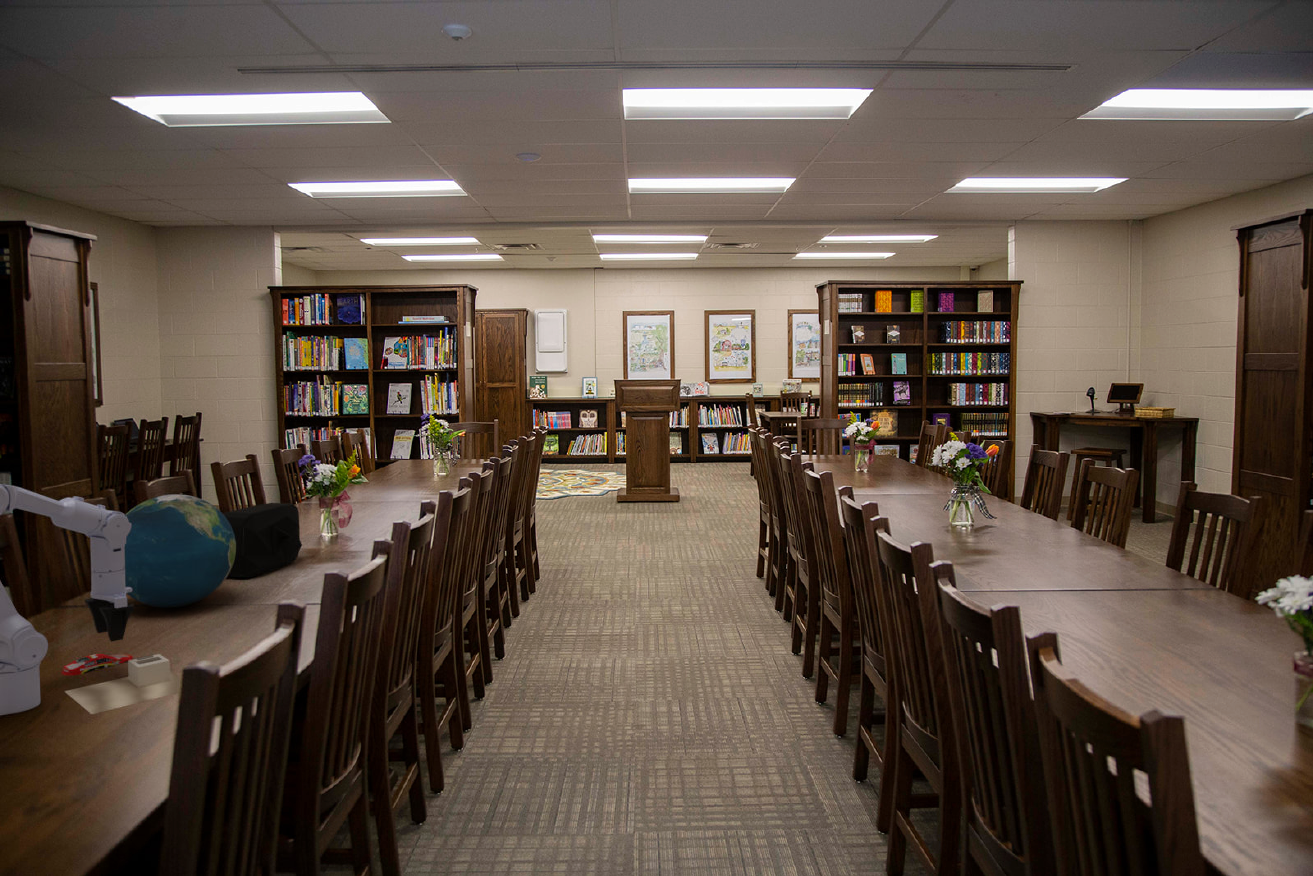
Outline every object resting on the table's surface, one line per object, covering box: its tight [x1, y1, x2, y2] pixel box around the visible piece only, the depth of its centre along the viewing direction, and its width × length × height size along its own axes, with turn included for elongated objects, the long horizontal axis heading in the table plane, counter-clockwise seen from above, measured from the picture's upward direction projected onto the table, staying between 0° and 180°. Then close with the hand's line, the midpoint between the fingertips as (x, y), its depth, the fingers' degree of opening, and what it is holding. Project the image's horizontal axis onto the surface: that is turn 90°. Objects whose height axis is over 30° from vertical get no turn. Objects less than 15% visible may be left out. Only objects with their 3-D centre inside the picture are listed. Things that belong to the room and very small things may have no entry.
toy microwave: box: [127, 653, 171, 687], centre depth 168 cm, size 6×6×4 cm
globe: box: [125, 493, 236, 609], centre depth 225 cm, size 30×30×30 cm
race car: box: [61, 653, 135, 677], centre depth 176 cm, size 13×5×4 cm, turn 147°
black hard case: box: [222, 502, 303, 579], centre depth 267 cm, size 30×12×20 cm, turn 171°
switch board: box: [64, 661, 182, 715], centre depth 163 cm, size 18×16×5 cm
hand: (110, 636), depth 170 cm, fingers open, 7 cm apart
